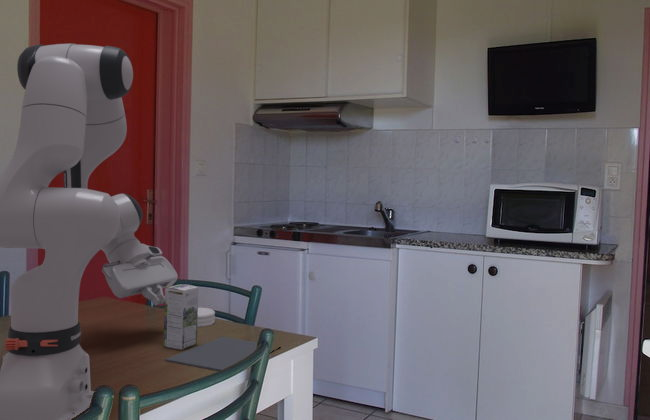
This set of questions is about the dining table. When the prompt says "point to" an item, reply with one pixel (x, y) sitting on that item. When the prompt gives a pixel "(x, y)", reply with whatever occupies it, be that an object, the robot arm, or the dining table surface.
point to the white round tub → (205, 317)
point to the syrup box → (180, 316)
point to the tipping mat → (216, 353)
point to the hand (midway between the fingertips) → (160, 302)
